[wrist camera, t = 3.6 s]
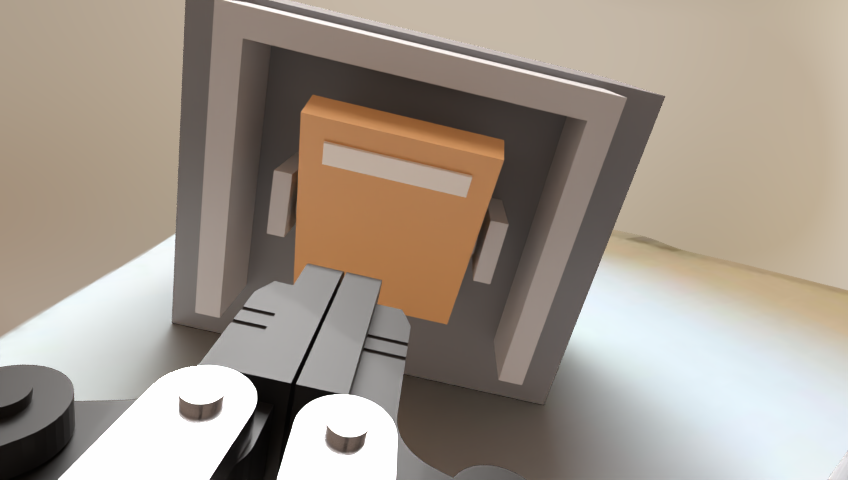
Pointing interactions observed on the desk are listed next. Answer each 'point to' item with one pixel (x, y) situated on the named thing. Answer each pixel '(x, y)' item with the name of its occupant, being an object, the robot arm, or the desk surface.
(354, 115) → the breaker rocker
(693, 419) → the desk surface
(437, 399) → the desk surface
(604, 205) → the box
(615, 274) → the desk surface
